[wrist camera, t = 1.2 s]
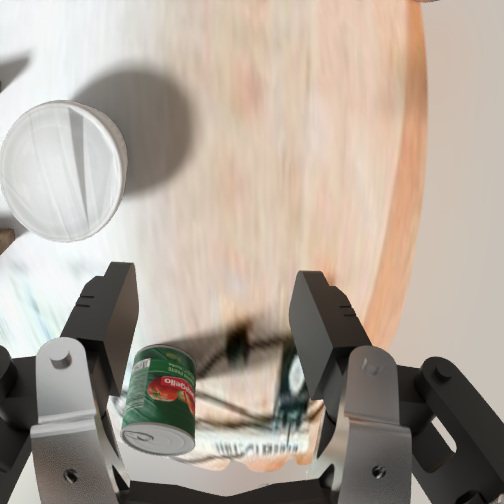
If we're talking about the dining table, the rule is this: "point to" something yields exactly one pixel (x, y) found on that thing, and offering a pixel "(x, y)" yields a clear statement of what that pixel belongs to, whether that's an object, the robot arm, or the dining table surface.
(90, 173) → the ramekin
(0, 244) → the walnut bay
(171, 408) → the canned tomato
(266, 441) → the dining table surface
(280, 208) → the dining table surface
